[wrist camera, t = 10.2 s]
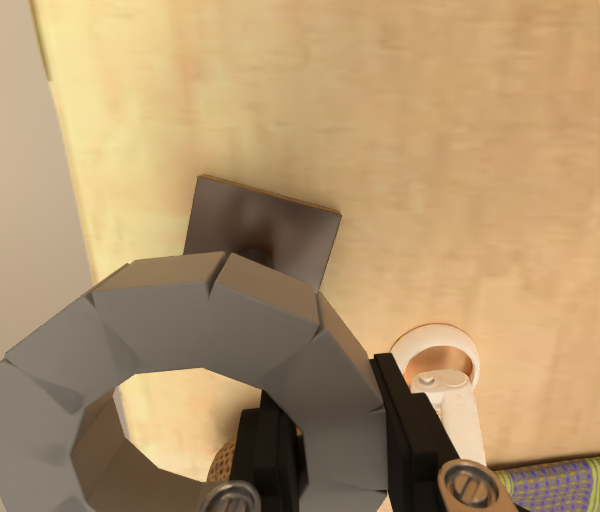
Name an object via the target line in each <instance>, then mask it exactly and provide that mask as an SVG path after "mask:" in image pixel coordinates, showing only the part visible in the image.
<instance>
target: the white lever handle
mask: <svg viewBox="0 0 600 512" xmlns="http://www.w3.org/2000/svg"><path fill="white" fill-rule="evenodd" d="M442 345H446V346H452V347H455V348H458V349H460V350H462V351H464V352H465V353H466V354H467V355H468V356H469V357H470V359H471V360H472V364H473V367H472V372H471V375H470V377H469V378H468V376H467V375H466V374H465V373H463V372H461V371H459V370H455V369H442V370H435V371H427V372H421V373H418V374H416V375H415V376H414V377H413V379H412V382H411V386H410V390H411V393H420V392H424V393H426V395H427V396H428V398H429V400H430V402H431V404H432V406H433V408H434V409H435V411H439V410H442V413H441V421H442V425H443V426H444V428H445V430H446V432H447V434H448V436H449V438H450V440H451V441H452V443H453V445H454V447H455V449H456V451H457V453H458V455H459V456H460V458H461V459H467V460H472V461H475V462H478V463H480V464H482V465H484V466H486V460H485V454H484V448H483V442H482V436H481V431H480V425H479V419H478V413H477V407H476V401H475V397H474V393H473V390H474V389H475V387H476V385H477V382H478V379H479V372H480V362H479V354H478V351H477V348H476V346H475V344H474V342H473V341H472V339H471V338H470V337H469V336H468V335H467V334H465V333H464V332H463V331H461V330H459V329H457V328H455V327H452V326H449V325H442V324H432V325H426V326H422V327H419V328H416V329H414V330H412V331H410V332H408V333H407V334H405V335H404V336H403V337H402V338H400V339H399V340H398V341H397V342H396V344H395V345H394V346H393V348H392V349H391V351H390V353H392V354H393V356H394V358H395V360H396V363H397V365H398V367H399V369H400V371H401V373H402V375H404V372H405V369H406V367H407V365H408V363H409V362H410V361H411V359H412V358H413V357H414V356H416V355H417V354H418V353H420V352H421V351H423V350H425V349H427V348H430V347H434V346H442ZM486 467H487V466H486Z"/></svg>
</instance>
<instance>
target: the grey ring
mask: <svg viewBox="0 0 600 512" xmlns="http://www.w3.org/2000/svg"><path fill="white" fill-rule="evenodd" d="M192 368H205V369H207V370H210V371H213V372H215V373H218V374H221V375H224V376H226V377H229V378H232V379H234V380H237V381H240V382H243V383H245V384H248V385H251V386H254V387H256V388H259V389H262V390H264V391H266V392H267V393H268V394H269V396H270V397H271V398H272V399H273V400H274V401H275V402H276V404H277V405H278V406H279V407H280V408H281V409H282V410H283V411H284V413H285V414H288V417H289V418H290V419H291V420H292V422H293V423H294V424H295V425H296V426H297V427H298V428H299V429H300V431H299V433H298V485H299V512H377V510H378V509H379V507H380V506H381V504H382V503H383V501H384V500H385V498H386V497H387V490H386V489H388V462H387V435H386V411H385V408H384V405H383V403H384V402H383V398H382V395H381V393H380V390H379V387H378V384H377V381H376V378H375V376H374V373H373V370H372V367H371V364H370V361H369V359H368V356H367V353H366V351H365V350H364V348H363V347H362V346H361V344H360V343H359V342H358V341H357V339H356V338H355V337H354V335H353V334H352V333H351V331H350V330H349V329H348V327H347V326H346V325H345V323H344V322H343V321H342V319H341V318H340V317H339V315H338V314H337V313H336V312H335V310H334V309H333V308H332V306H331V305H330V304H329V302H328V301H327V300H326V298H325V297H324V296H323V294H322V293H320V292H317V293H316V294H315V290H314V287H313V286H311V285H309V284H307V283H304V282H302V281H299V280H297V279H295V278H292V277H290V276H288V275H285V274H283V273H280V272H278V271H276V270H273V269H271V268H268V267H266V266H264V265H261V264H259V263H256V262H254V261H252V260H249V259H247V258H244V257H242V256H240V255H237V254H235V253H231V254H230V256H229V258H228V259H227V260H226V254H225V252H223V251H220V252H210V253H200V254H190V255H180V256H170V257H160V258H150V259H140V260H135V261H133V262H132V263H131V264H128V263H127V264H125V265H123V266H122V267H121V268H119V269H118V270H116V271H115V272H114V273H112V274H111V275H109V276H108V277H107V278H105V279H104V280H102V281H101V282H100V283H98V284H97V285H95V286H94V287H93V288H91V289H90V290H88V291H87V292H86V293H84V294H83V295H81V296H80V297H79V298H77V299H76V300H75V301H73V302H72V303H71V304H70V305H68V306H67V307H66V308H64V309H63V310H62V311H60V312H59V313H58V314H56V315H55V316H54V317H52V318H51V319H50V320H48V321H47V322H46V323H44V324H43V325H42V326H40V327H39V328H38V329H36V330H35V331H34V332H33V333H31V334H30V335H29V336H27V337H26V338H25V339H23V340H22V341H21V342H19V343H18V344H17V345H16V346H14V347H13V348H11V349H10V350H9V351H7V352H6V354H5V358H4V359H3V360H1V361H0V497H1V499H2V502H3V504H4V506H5V508H6V511H7V512H199V509H200V506H201V504H202V502H203V500H204V499H205V497H206V496H207V494H208V493H210V492H211V491H212V490H213V489H214V488H215V487H217V486H219V485H220V484H222V483H224V482H228V480H223V481H212V482H200V481H196V480H193V479H190V478H187V477H184V476H181V475H178V474H175V473H172V472H169V471H165V470H162V469H159V468H158V467H157V466H155V465H154V464H153V463H152V462H151V461H150V460H149V459H148V458H147V457H146V456H145V455H144V454H143V453H142V452H140V451H139V450H138V449H137V448H136V447H135V446H134V445H133V444H132V443H131V442H130V441H129V440H128V439H126V438H125V436H124V433H123V429H122V426H121V423H120V419H119V416H118V413H117V409H116V406H115V403H114V399H113V393H114V391H115V387H117V386H118V385H120V384H121V383H123V382H124V381H126V380H127V379H129V378H130V377H131V376H133V375H134V374H140V373H150V372H161V371H171V370H181V369H192Z"/></svg>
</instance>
